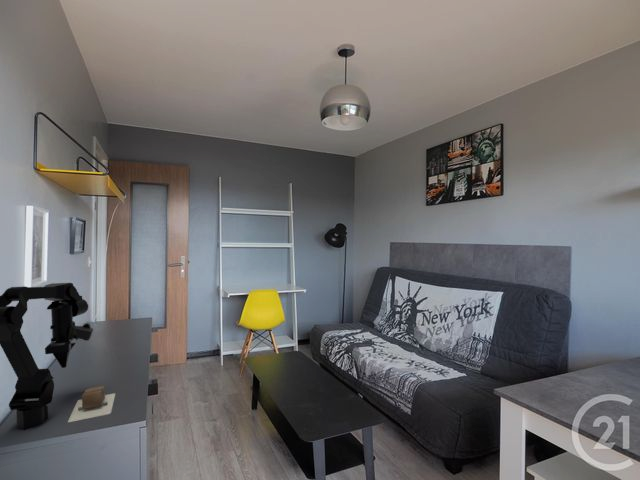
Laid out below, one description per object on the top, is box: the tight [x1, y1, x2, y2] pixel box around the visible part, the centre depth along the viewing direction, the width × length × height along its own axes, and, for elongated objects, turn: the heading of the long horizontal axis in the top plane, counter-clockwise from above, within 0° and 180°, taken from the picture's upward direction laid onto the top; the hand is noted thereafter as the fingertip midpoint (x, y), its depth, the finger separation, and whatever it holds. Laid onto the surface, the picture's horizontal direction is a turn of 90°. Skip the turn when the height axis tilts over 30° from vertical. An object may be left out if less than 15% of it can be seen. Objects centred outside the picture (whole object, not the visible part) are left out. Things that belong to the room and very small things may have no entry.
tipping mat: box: [67, 392, 116, 423], centre depth 118 cm, size 17×11×2 cm, turn 25°
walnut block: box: [81, 385, 106, 409], centre depth 119 cm, size 4×5×9 cm
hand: (64, 367), depth 123 cm, fingers closed
